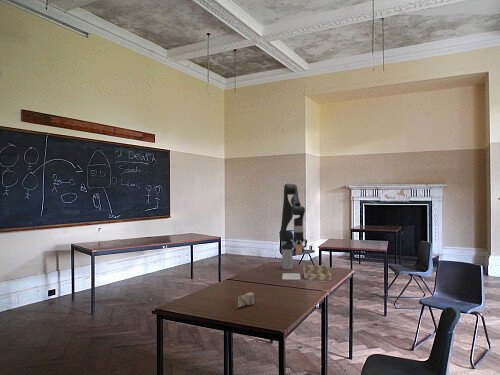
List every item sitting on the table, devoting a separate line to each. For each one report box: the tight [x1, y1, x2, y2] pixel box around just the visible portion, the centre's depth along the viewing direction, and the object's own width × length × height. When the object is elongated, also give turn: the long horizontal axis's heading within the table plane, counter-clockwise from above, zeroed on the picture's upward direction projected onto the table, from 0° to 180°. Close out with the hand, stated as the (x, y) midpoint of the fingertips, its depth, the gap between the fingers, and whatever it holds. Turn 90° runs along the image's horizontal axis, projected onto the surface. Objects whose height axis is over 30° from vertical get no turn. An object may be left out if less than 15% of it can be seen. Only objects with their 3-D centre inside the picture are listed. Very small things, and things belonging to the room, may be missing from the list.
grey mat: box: [281, 272, 301, 281], centre depth 290 cm, size 14×20×1 cm
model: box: [237, 292, 255, 308], centre depth 215 cm, size 3×11×8 cm, turn 141°
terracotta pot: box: [295, 244, 303, 256], centre depth 290 cm, size 6×6×8 cm
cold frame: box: [302, 265, 332, 281], centre depth 288 cm, size 20×20×7 cm
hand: (298, 252), depth 290 cm, fingers closed on terracotta pot, 5 cm apart
